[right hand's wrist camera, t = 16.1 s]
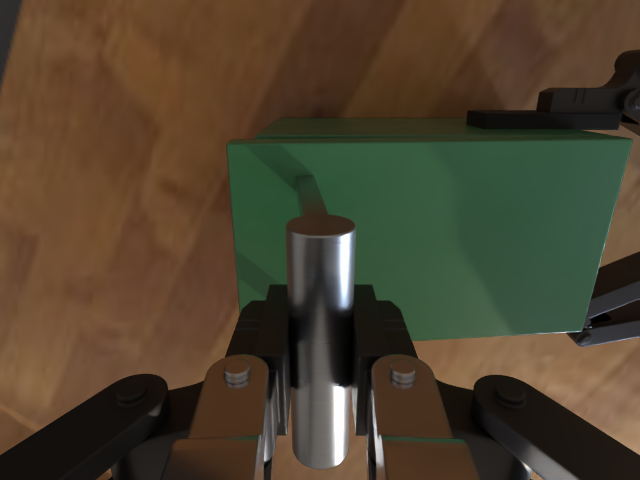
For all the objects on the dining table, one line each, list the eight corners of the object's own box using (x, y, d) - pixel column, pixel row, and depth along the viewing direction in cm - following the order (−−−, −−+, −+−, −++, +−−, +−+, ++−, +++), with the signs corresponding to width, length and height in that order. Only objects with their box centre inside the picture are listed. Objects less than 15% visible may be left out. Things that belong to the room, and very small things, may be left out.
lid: (244, 335, 19) (220, 507, 11) (229, 139, 16) (181, 190, 8) (565, 318, 21) (741, 461, 13) (610, 135, 17) (882, 175, 10)
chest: (282, 244, 30) (264, 316, 21) (278, 117, 27) (254, 134, 18) (490, 245, 30) (566, 317, 21) (510, 117, 27) (611, 134, 17)
